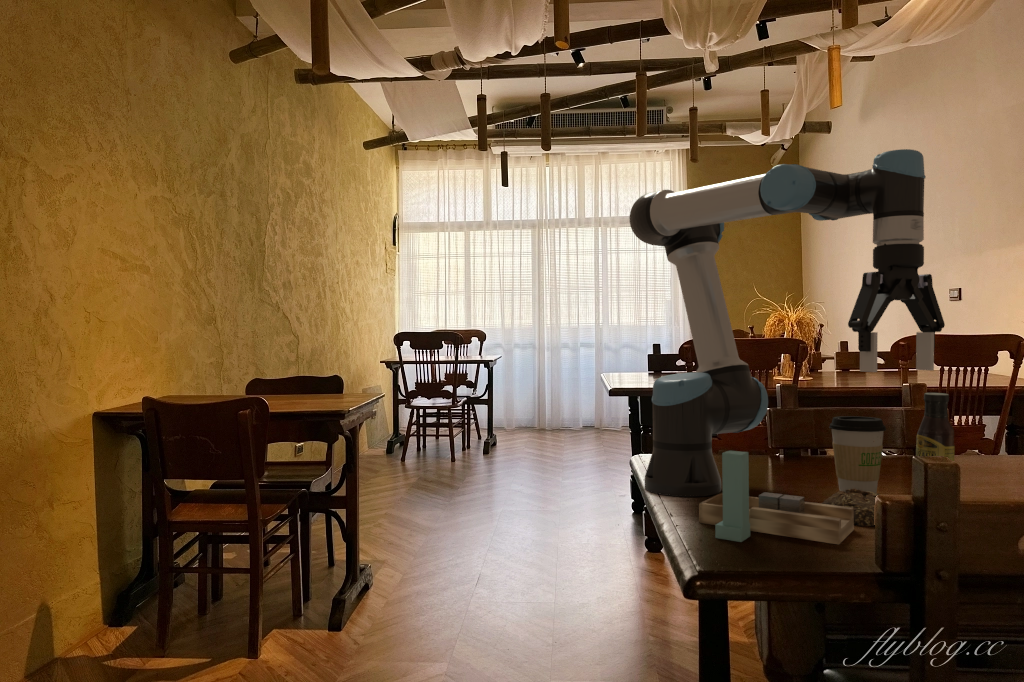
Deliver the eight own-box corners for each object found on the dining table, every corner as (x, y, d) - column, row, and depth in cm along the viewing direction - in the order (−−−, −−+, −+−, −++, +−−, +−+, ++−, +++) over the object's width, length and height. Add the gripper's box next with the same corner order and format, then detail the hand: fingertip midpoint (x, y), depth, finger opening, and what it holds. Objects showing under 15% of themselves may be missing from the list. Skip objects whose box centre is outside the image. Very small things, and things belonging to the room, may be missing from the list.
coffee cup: (894, 503, 129) (893, 421, 129) (836, 501, 131) (836, 421, 131) (877, 492, 138) (877, 416, 138) (824, 490, 140) (823, 415, 140)
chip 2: (779, 516, 112) (779, 497, 112) (785, 513, 114) (785, 494, 114) (799, 519, 110) (799, 500, 110) (804, 515, 112) (804, 496, 112)
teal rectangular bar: (750, 536, 108) (749, 451, 108) (741, 542, 105) (740, 455, 105) (724, 532, 110) (724, 449, 110) (715, 537, 107) (714, 452, 107)
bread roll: (914, 520, 118) (914, 491, 118) (871, 531, 111) (871, 500, 111) (843, 506, 129) (843, 478, 129) (800, 515, 122) (800, 486, 122)
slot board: (853, 529, 111) (853, 507, 111) (838, 544, 103) (838, 520, 103) (721, 510, 124) (721, 491, 124) (699, 522, 116) (698, 501, 116)
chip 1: (758, 513, 114) (758, 495, 114) (764, 510, 116) (764, 492, 116) (777, 516, 112) (777, 497, 112) (783, 512, 114) (783, 494, 114)
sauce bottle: (908, 494, 136) (907, 392, 136) (938, 493, 136) (937, 391, 136) (931, 502, 129) (930, 394, 129) (963, 501, 130) (962, 394, 130)
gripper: (864, 237, 109) (863, 373, 110) (969, 245, 119) (968, 370, 119) (825, 243, 116) (824, 371, 116) (927, 250, 126) (926, 368, 126)
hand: (897, 371), depth 118 cm, fingers open, 13 cm apart
